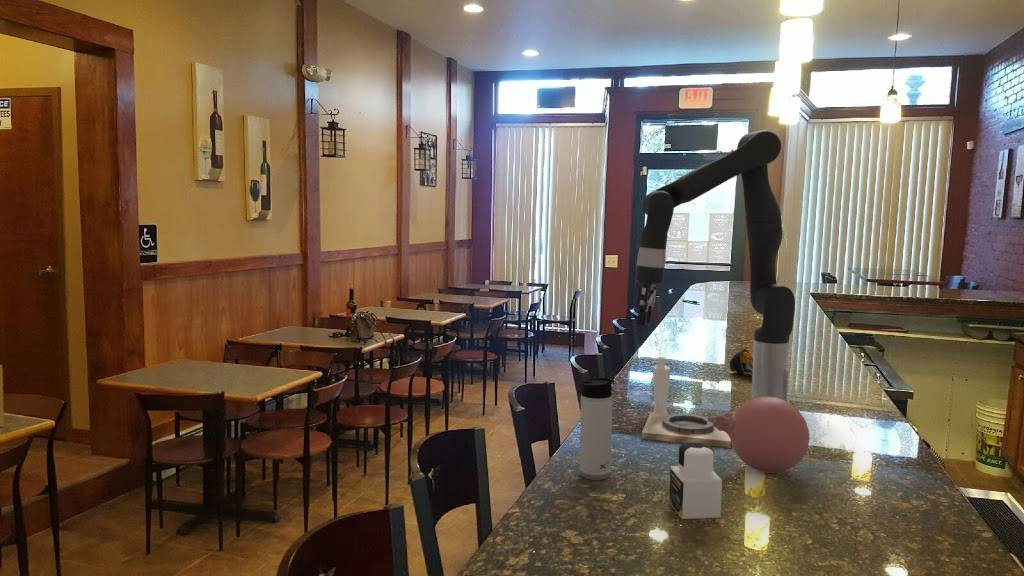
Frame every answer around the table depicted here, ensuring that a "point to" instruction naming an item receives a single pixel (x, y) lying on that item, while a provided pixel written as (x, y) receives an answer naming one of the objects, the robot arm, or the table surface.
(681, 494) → the medicine bottle
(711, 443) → the hub board
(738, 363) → the black and orange lump
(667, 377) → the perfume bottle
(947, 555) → the table surface
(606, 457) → the travel mug
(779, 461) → the balloon
